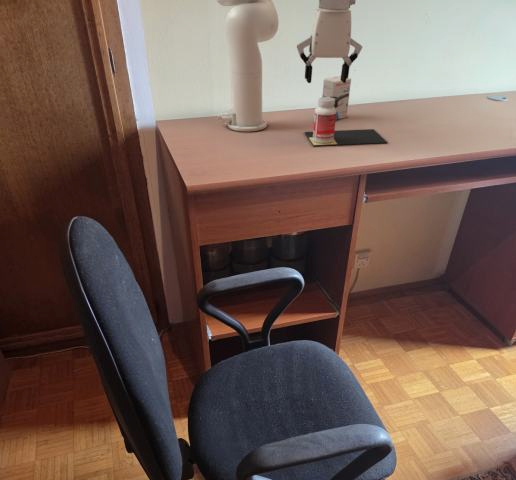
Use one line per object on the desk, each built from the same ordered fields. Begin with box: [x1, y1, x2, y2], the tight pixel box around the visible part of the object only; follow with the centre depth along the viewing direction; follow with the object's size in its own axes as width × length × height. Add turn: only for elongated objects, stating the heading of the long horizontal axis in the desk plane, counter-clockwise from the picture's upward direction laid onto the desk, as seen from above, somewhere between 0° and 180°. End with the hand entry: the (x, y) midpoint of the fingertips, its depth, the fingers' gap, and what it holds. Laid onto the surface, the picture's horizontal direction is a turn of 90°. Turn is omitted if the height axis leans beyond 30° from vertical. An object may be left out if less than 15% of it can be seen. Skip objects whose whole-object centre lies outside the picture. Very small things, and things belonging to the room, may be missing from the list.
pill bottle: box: [312, 97, 337, 143], centre depth 129 cm, size 6×6×11 cm
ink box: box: [321, 75, 352, 121], centre depth 148 cm, size 8×5×12 cm, turn 131°
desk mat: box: [304, 128, 388, 147], centre depth 135 cm, size 22×13×1 cm, turn 97°
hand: (325, 81), depth 123 cm, fingers open, 9 cm apart
